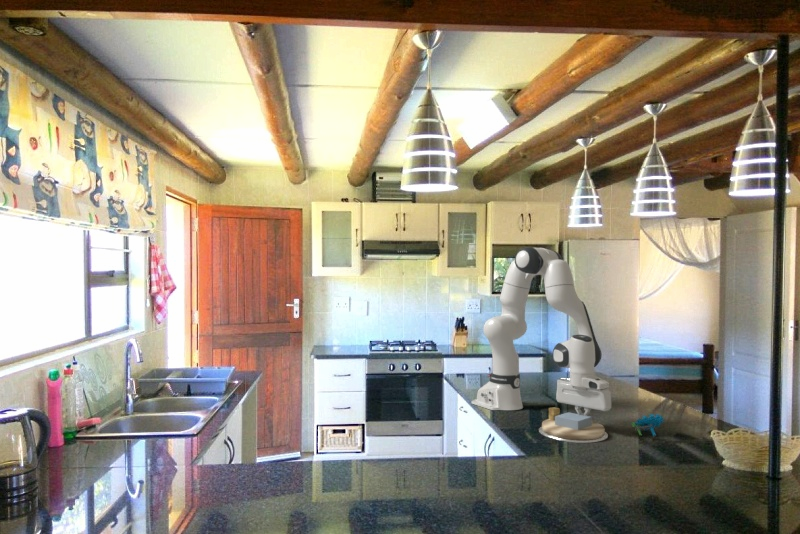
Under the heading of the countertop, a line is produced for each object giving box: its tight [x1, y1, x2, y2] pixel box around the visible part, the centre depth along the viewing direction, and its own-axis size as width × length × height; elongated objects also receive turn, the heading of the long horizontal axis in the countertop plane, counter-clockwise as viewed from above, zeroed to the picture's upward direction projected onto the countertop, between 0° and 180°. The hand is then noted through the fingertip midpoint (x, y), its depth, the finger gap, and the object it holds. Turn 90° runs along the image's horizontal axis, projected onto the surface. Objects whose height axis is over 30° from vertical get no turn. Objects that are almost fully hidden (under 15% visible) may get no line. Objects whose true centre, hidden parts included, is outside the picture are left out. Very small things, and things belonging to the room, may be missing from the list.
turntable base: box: [538, 426, 609, 444], centre depth 187 cm, size 23×23×1 cm
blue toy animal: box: [631, 413, 664, 437], centre depth 185 cm, size 11×6×10 cm
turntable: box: [541, 407, 606, 440], centre depth 187 cm, size 21×21×6 cm
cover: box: [555, 411, 593, 430], centre depth 187 cm, size 9×9×3 cm
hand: (582, 418), depth 191 cm, fingers closed
